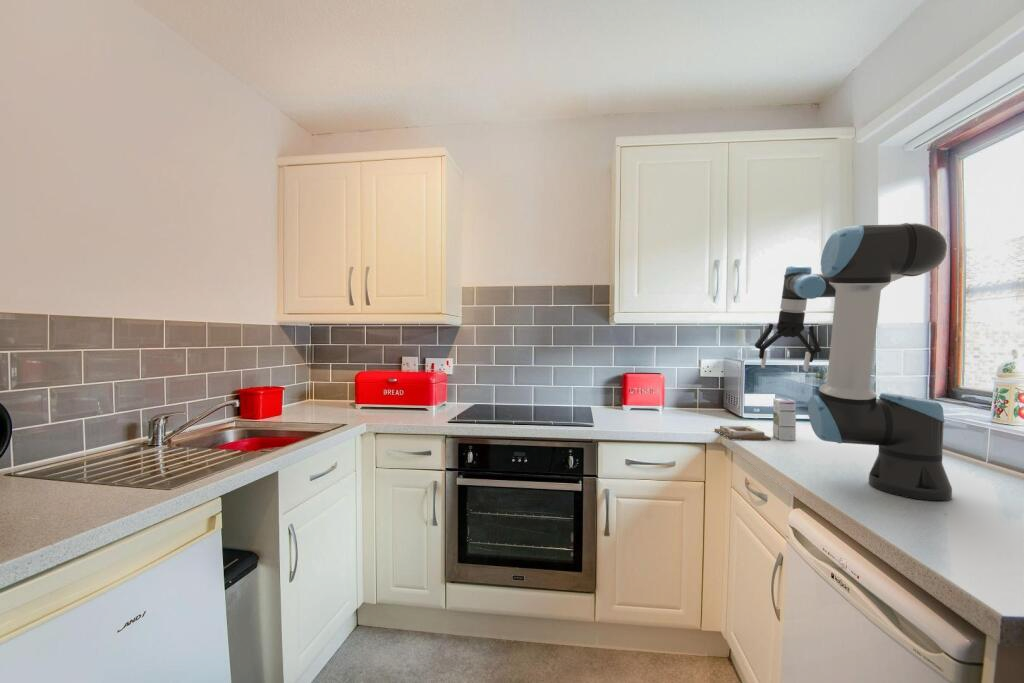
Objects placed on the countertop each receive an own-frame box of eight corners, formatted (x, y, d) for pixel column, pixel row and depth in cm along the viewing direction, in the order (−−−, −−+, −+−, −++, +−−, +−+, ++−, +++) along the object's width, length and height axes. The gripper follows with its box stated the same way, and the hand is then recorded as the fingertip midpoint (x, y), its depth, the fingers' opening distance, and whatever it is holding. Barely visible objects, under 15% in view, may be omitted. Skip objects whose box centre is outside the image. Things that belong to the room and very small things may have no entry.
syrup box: (796, 441, 156) (797, 400, 156) (778, 440, 157) (779, 400, 157) (789, 437, 162) (790, 398, 162) (772, 436, 163) (772, 397, 163)
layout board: (770, 440, 156) (770, 433, 156) (731, 439, 157) (731, 433, 157) (750, 431, 170) (750, 425, 170) (714, 431, 171) (714, 424, 171)
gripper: (829, 310, 152) (819, 368, 156) (750, 307, 159) (743, 363, 164) (838, 314, 145) (827, 374, 149) (755, 310, 152) (747, 368, 157)
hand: (783, 369), depth 157 cm, fingers open, 13 cm apart
